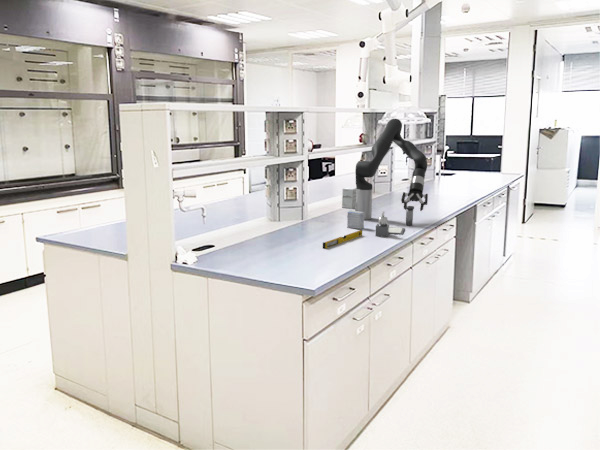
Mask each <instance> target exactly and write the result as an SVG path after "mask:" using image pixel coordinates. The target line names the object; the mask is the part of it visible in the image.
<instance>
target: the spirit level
mask: <svg viewBox="0 0 600 450" xmlns="http://www.w3.org/2000/svg"><path fill="white" fill-rule="evenodd" d="M361 236H363V230H362V229H359V230H357V231H355V232H352V233H351V232H350V233H347V234H345V235H344V236H340V237H339V236H338V237H336V238H333V239H331V240H328V241H324V242H322V249H327V248H331V247H334V246H337V245H339V244H342V242H343V243H345V242H348V241H351V240H353V239H356V237H357V238H359V237H361Z"/></svg>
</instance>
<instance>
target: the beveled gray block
mask: <svg viewBox="0 0 600 450" xmlns="http://www.w3.org/2000/svg"><path fill="white" fill-rule="evenodd" d="M377 221H378V223H377V224H376V225H375V234H374V235H375V237H381V236H383V238H384V237H386V238H388V237H389V236H390V234H389V227H390V224H388V217H386V216H385V211H381V216H378V220H377Z"/></svg>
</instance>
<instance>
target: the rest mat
mask: <svg viewBox="0 0 600 450" xmlns="http://www.w3.org/2000/svg"><path fill="white" fill-rule="evenodd" d="M405 229H406V228H405V227H394V226H393V227H392V226H389V235H398V234H402V235H403V234H404V232H405Z"/></svg>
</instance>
